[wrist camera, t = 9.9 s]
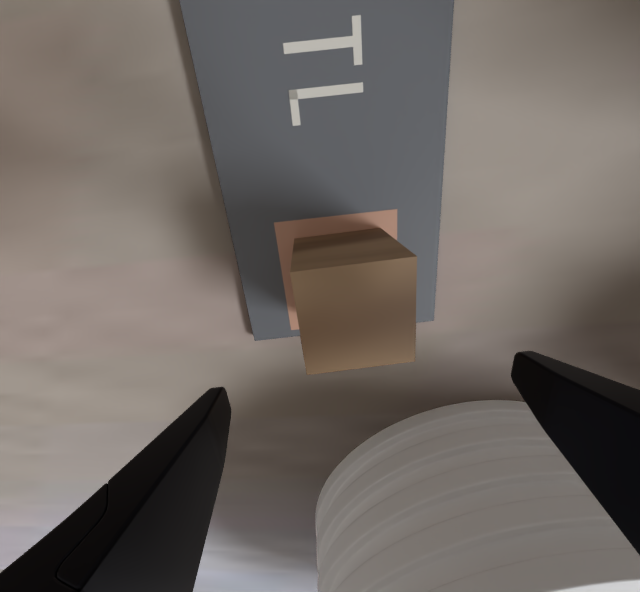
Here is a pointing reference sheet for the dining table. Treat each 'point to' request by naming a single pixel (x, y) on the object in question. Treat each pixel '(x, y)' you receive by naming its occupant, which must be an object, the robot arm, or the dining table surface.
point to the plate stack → (466, 511)
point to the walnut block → (354, 300)
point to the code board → (323, 131)
